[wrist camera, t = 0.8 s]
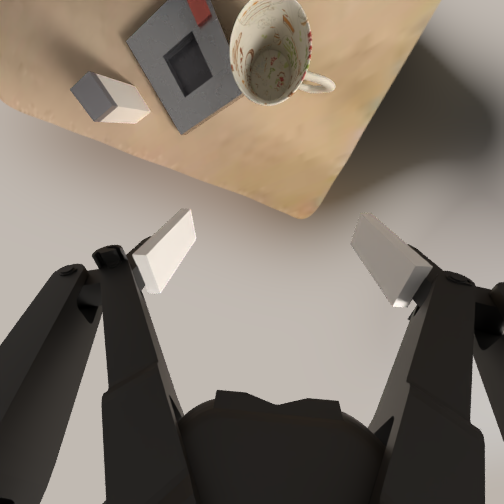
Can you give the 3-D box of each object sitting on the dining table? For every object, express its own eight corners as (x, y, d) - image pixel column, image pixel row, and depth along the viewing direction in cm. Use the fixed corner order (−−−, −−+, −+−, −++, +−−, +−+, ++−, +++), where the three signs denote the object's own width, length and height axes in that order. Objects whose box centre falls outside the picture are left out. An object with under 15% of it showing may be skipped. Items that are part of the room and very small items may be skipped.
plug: (119, 99, 31) (69, 89, 23) (135, 86, 30) (88, 70, 22) (135, 123, 33) (94, 121, 25) (151, 111, 31) (112, 105, 24)
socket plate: (134, 46, 27) (122, 39, 25) (203, -19, 24) (196, -34, 22) (185, 134, 33) (179, 135, 31) (248, 92, 29) (246, 89, 27)
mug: (247, 27, 26) (236, -23, 17) (338, 53, 26) (370, 15, 18) (237, 105, 30) (223, 95, 22) (315, 125, 30) (331, 123, 22)
